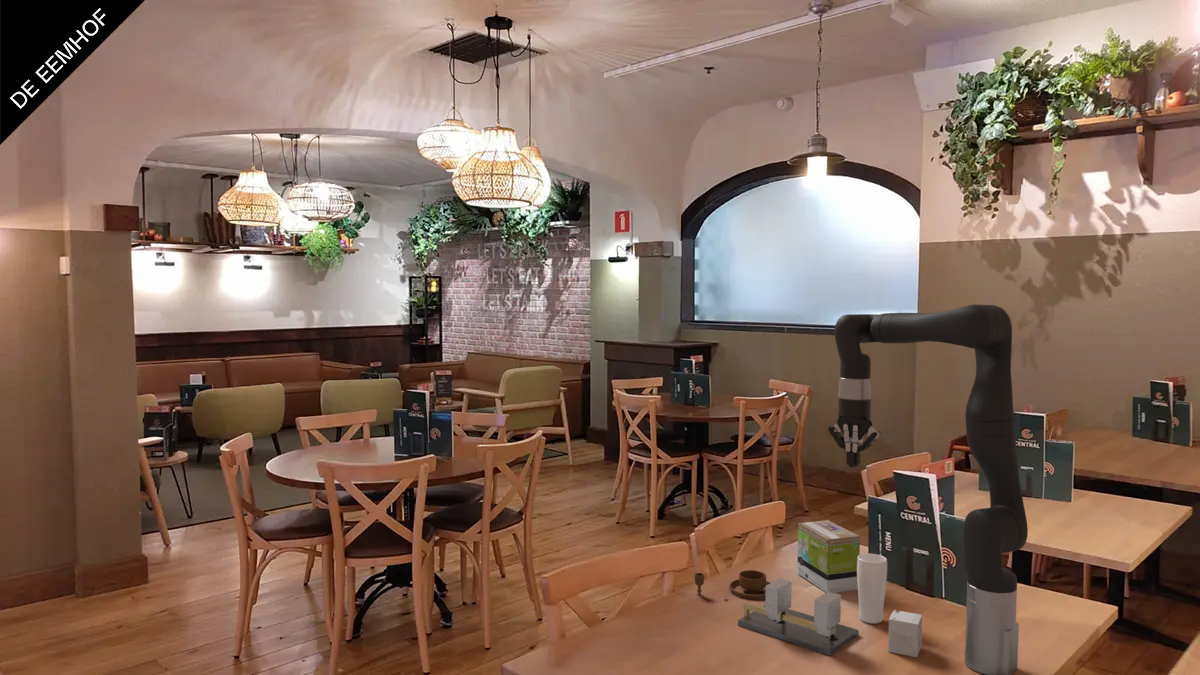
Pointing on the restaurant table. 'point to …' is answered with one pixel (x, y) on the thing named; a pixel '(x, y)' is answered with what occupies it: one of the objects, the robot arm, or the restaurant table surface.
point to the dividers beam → (824, 614)
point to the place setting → (742, 584)
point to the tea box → (828, 556)
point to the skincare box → (905, 633)
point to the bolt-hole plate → (799, 632)
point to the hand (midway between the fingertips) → (853, 466)
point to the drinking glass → (871, 586)
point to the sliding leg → (778, 598)
